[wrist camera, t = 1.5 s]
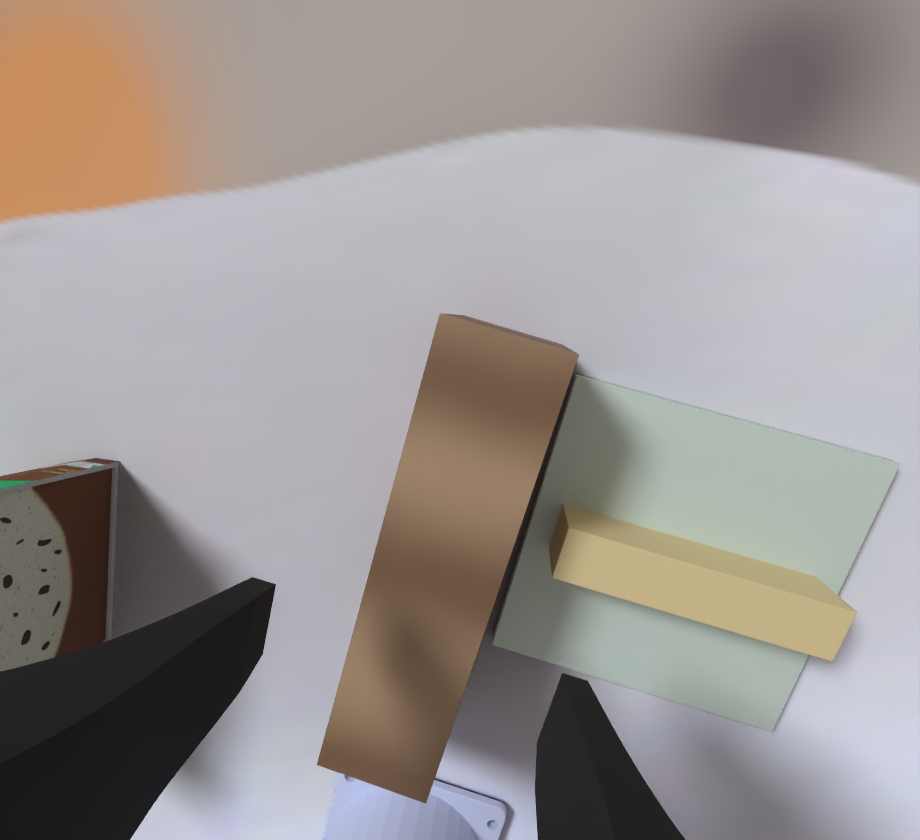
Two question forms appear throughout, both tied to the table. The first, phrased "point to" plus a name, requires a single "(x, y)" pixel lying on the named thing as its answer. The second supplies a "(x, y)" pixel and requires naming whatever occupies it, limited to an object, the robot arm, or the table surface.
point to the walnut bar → (443, 548)
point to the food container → (57, 560)
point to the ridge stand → (689, 551)
